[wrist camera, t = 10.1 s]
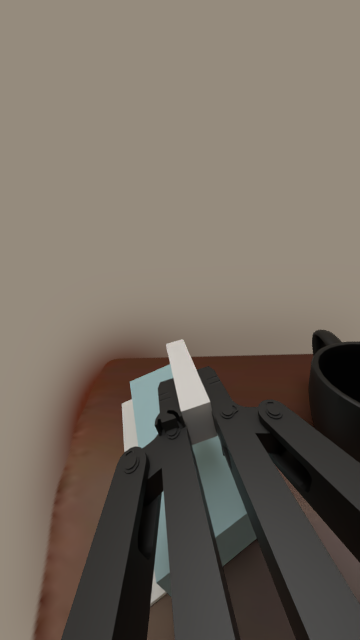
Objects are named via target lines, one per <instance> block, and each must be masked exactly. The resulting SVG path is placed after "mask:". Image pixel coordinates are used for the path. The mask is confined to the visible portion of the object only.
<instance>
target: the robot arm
mask: <svg viewBox="0 0 360 640" xmlns="http://www.w3.org/2000/svg"><path fill="white" fill-rule="evenodd" d="M166 347H167V351H168V356H169V360H170V365H171V369H172V374H173V378H172V379H168V380H165V381H162V382H160V384H159V387H158V396H159V397H158V398H159V410H160V413H159V414H158V416H157V417H156V419H155V427H156V430H157V432H158V435H157V436H156V437H155V439H154V440H152V441H151V442H150V443H149V444H147V445H146V446H145V447H143V448H141V447H137V446H135V447H132V448H130V449H128V450H127V451H125V452H124V454H123V455H122V456H121V457H120V460H119V462H118V464H117V467H116V470H115V473H114V476H113V479H112V482H111V486H110V489H109V492H108V495H107V498H106V501H105V504H104V507H103V510H102V514H101V517H100V520H99V523H98V526H97V529H96V532H95V535H94V539H93V542H92V545H91V548H90V551H89V554H88V557H87V560H86V564H85V567H84V570H83V573H82V576H81V579H80V582H79V585H78V589H77V592H76V595H75V598H74V601H73V604H72V607H71V610H70V614H69V617H68V620H67V623H66V626H65V629H64V632H63V635H62V639H61V640H147V632H148V622H149V613H150V603H151V593H152V584H153V574H154V564H155V555H156V545H157V535H158V526H159V516H160V507H161V497H162V492H163V491H164V504H165V517H166V530H167V543H168V556H169V569H170V582H171V595H172V608H173V621H174V634H175V640H240V636H239V632H238V628H237V623H236V619H235V615H234V611H233V607H232V603H231V599H230V595H229V591H228V587H227V583H226V579H225V575H224V571H223V567H222V563H221V559H220V555H219V551H218V547H217V543H216V538H215V534H214V530H213V526H212V522H211V518H210V514H209V510H208V506H207V502H206V498H205V494H204V490H203V486H202V482H201V478H200V474H199V470H198V466H197V462H196V457H195V454H194V451H193V447H192V445H194V444H197V443H200V442H202V441H205V440H208V439H211V438H213V437H216V436H217V435H218V437H219V440H220V443H221V447H222V452H223V456H225V458H226V460H227V463H228V466H229V468H230V471H231V473H232V476H233V478H234V481H235V484H236V486H237V489H238V491H239V494H240V496H241V499H242V502H243V504H244V507H245V509H246V512H247V514H248V517H249V520H250V522H251V525H252V527H253V530H254V532H255V535H256V538H257V540H258V543H259V545H260V548H261V550H262V553H263V555H264V558H265V561H266V563H267V566H268V568H269V571H270V573H271V576H272V579H273V581H274V584H275V586H276V589H277V591H278V594H279V597H280V599H281V602H282V604H283V607H284V609H285V612H286V615H287V617H288V620H289V622H290V625H291V627H292V630H293V633H294V635H295V638H296V640H360V604H359V603H358V601H357V599H356V598H355V596H354V594H353V593H352V591H351V589H350V588H349V586H348V584H347V583H346V581H345V580H344V578H343V576H342V575H341V573H340V571H339V570H338V568H337V566H336V565H335V563H334V562H333V560H332V558H331V557H330V555H329V553H328V552H327V550H326V548H325V547H324V545H323V543H322V542H321V540H320V539H319V537H318V535H317V534H316V532H315V530H314V529H313V527H312V525H311V524H310V522H309V521H308V519H307V517H306V516H305V514H304V512H303V511H302V509H301V507H300V506H299V504H298V502H297V501H296V499H295V498H294V496H293V494H292V493H291V491H290V489H289V488H288V486H287V484H286V483H285V481H284V480H283V478H282V476H281V475H280V473H279V471H278V470H277V468H278V469H279V470H280V471H281V472H282V473H283V474H284V476H285V477H286V478H287V479H288V480H289V481H290V483H291V484H292V485H293V486H294V487H295V488H296V489H297V491H298V492H299V493H300V494H301V495H302V496H303V498H304V499H305V500H306V501H307V502H308V503H309V504H310V506H311V507H312V508H313V509H314V510H315V511H316V512H317V514H318V515H319V516H320V517H321V518H322V519H323V521H324V522H325V523H326V524H327V525H328V526H329V527H330V529H331V530H332V531H333V532H334V533H335V534H336V536H337V537H338V538H339V539H340V540H341V541H342V542H343V544H344V545H345V546H346V547H347V548H348V549H349V551H350V552H351V553H352V554H353V555H354V556H355V557H356V559H357V560H358V561H359V562H360V463H359V462H358V461H356V460H355V459H354V458H353V457H351V456H350V455H349V454H347V453H346V452H345V451H343V450H342V449H341V448H340V447H338V446H337V445H336V444H334V443H333V442H332V441H330V440H329V439H328V438H326V437H325V436H324V435H323V434H321V433H320V432H319V431H317V430H316V429H315V428H313V427H312V426H311V425H310V424H308V423H307V422H306V421H304V420H303V419H302V418H300V417H299V416H298V415H296V414H295V413H294V412H293V411H291V410H290V409H289V408H287V407H286V406H285V405H283V404H282V403H280V402H278V401H275V400H265V401H262V402H261V403H260V404H259V407H243V406H240V405H238V404H236V403H235V402H233V401H232V399H231V398H230V396H229V394H228V393H227V391H226V389H225V388H224V386H223V384H222V383H221V381H220V379H219V378H218V376H217V374H216V372H215V371H214V370H213V369H212V368H210V367H209V366H208V367H205V368H201V369H198V370H196V368H195V366H194V363H193V361H192V359H191V357H190V354H189V352H188V350H187V348H186V345H185V343H184V341H183V339H182V340H179V341H175V342H172V343H169V344H166ZM274 464H275V465H276V466H277V468H276V466H275V465H274Z"/></svg>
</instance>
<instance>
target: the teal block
mask: <svg viewBox="0 0 360 640" xmlns="http://www.w3.org/2000/svg"><path fill="white" fill-rule="evenodd" d="M172 378H173V374H172V369H171V365H168V366H165V367H163V368H161V369H158V370H156V371H154V372H151V373H149V374H147V375H144V376H142V377H140V378H138V379H135V380H133V381H131V382H130V387H131V394H132V402H133V410H134V417H135V425H136V433H137V440H138V447H141V448H143V447H145V446H146V445H147V444H149V443H150V442H151V441H152V440H154V439H155V437H156V436H157V435H158V432H157V430H156V427H155V419H156V417H157V416H158V414H159V413H160V410H159V398H158V397H159V396H158V387H159V384H160V382H162V381H165V380H168V379H172ZM192 447H193V451H194V454H195V457H196V462H197V466H198V470H199V474H200V478H201V482H202V486H203V490H204V494H205V498H206V502H207V506H208V510H209V514H210V518H211V522H212V526H213V530H214V534H215V538H216V543H217V547H218V551H219V555H220V559H221V563H222V567H223V566H224V565H225V564H226V563H228V562H229V561H230V560H231V559H232V558H234V557H235V556H236V555H237V554H238V553H240V552H241V551H242V550H243V549H245V548H246V547H247V546H248V545H249V544H251V543H252V542H253V541H254V540H255V539H257V538H256V535H255V532H254V530H253V527H252V525H251V522H250V520H249V517H248V514H247V512H246V509H245V507H244V504H243V502H242V499H241V496H240V494H239V491H238V489H237V486H236V484H235V481H234V478H233V476H232V473H231V471H230V468H229V466H228V463H227V460H226V458H225V456H223V452H222V447H221V443H220V440H219V437H218V435H217V436H216V437H213V438H211V439H208V440H205V441H202V442H200V443H197V444H194V445H192ZM154 570H155V578H156V583H157V584H158V585H159V586H160V587H161V588H162V589H163V590H164V591H165V592H166V593H168V594H169V595H170V596H171V597H172V595H171V582H170V569H169V556H168V543H167V530H166V517H165V504H164V491H163V492H162V497H161V507H160V516H159V526H158V535H157V545H156V555H155V564H154Z"/></svg>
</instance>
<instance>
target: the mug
mask: <svg viewBox="0 0 360 640" xmlns="http://www.w3.org/2000/svg"><path fill="white" fill-rule="evenodd" d="M312 347H313V355H314V356H313V359H312V362H311V370H310V378H309V401H310V409H311V415H312V419H313V422H314V425H315V428H316V430H317V431H319V432H320V433H321V434H323V435H324V436H325V437H326V438H328V439H329V440H330V441H332V442H333V443H334V444H336V445H337V446H338V447H340V448H341V449H342V450H343V451H345V452H346V453H347V454H349V455H350V456H351V457H353V458H354V459H355V460H356V461H358V462H359V463H360V342H341V341H340V340H339V339H338V338H337V337H336V336H335V335H334V334H333V333H331V332H329V331H326V330H318V331H315V332H314V333H313V338H312Z"/></svg>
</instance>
